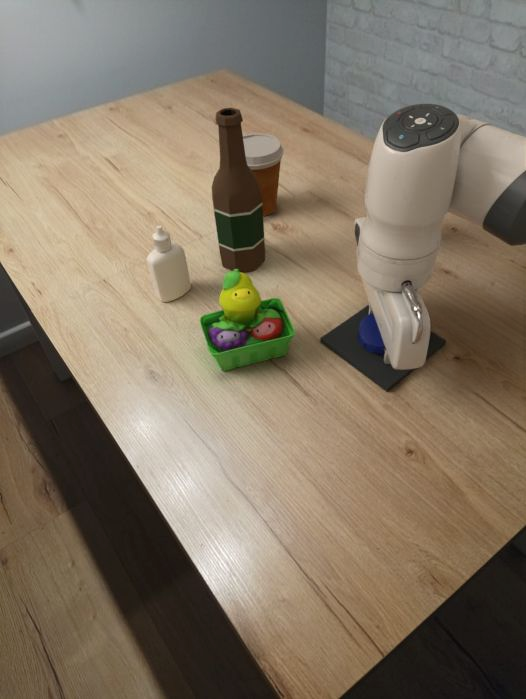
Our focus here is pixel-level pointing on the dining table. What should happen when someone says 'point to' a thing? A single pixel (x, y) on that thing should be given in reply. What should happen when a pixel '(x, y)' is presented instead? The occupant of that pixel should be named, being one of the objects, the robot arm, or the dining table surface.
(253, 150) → the disposable coffee cup
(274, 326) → the fruit basket
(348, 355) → the coaster
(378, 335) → the lid
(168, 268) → the eye dropper bottle
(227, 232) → the beer bottle
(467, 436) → the dining table surface
